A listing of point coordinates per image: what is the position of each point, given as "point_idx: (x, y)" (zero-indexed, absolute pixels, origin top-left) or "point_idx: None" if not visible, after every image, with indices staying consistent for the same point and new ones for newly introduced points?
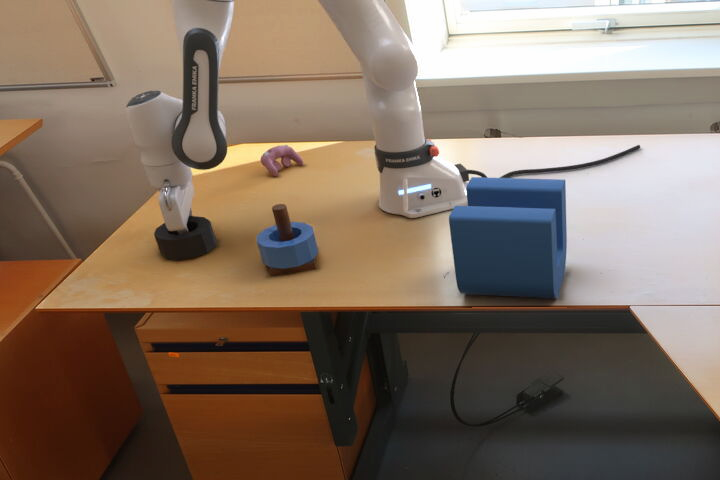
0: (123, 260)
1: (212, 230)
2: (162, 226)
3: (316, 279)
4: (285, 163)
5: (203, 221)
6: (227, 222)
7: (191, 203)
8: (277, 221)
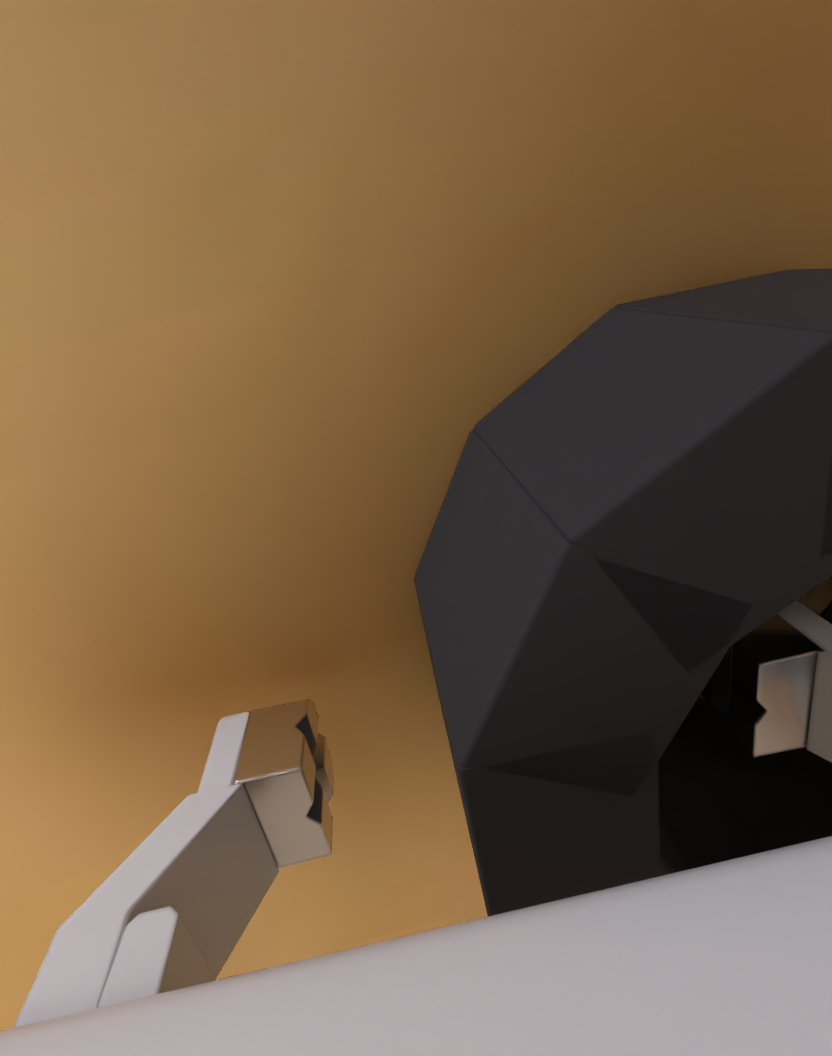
0: None
1: (782, 302)
2: None
3: None
4: None
5: (807, 481)
6: (12, 300)
7: (246, 995)
8: None
